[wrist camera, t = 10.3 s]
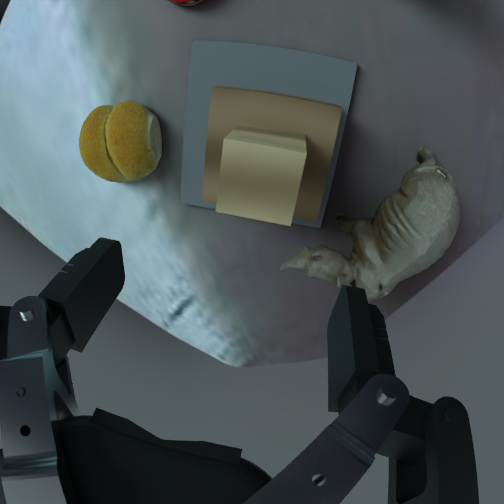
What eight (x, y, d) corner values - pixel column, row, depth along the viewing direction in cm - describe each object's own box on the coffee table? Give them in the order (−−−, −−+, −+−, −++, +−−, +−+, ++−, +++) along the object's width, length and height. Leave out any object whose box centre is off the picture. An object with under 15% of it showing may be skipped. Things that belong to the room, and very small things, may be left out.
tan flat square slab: (220, 85, 24) (211, 87, 22) (337, 104, 24) (342, 108, 21) (210, 189, 30) (201, 202, 27) (314, 208, 29) (315, 222, 27)
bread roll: (84, 109, 27) (61, 116, 24) (159, 95, 26) (140, 101, 23) (97, 180, 32) (77, 194, 28) (168, 176, 31) (152, 191, 27)
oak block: (240, 122, 23) (223, 138, 18) (305, 134, 23) (306, 153, 18) (233, 180, 26) (215, 211, 21) (292, 192, 26) (290, 226, 21)
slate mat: (194, 40, 23) (192, 40, 22) (356, 63, 22) (357, 63, 22) (182, 200, 32) (180, 203, 31) (319, 225, 31) (320, 228, 30)
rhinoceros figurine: (488, 199, 24) (459, 330, 17) (386, 225, 36) (327, 326, 29) (453, 128, 22) (414, 243, 15) (350, 173, 34) (276, 269, 27)
